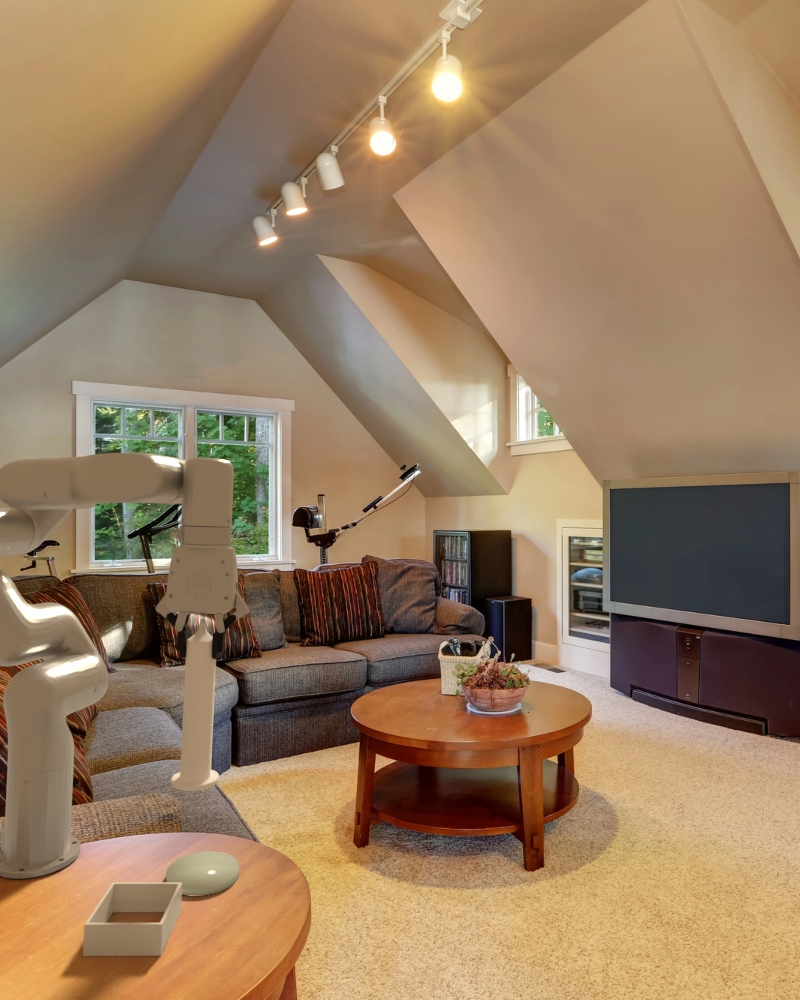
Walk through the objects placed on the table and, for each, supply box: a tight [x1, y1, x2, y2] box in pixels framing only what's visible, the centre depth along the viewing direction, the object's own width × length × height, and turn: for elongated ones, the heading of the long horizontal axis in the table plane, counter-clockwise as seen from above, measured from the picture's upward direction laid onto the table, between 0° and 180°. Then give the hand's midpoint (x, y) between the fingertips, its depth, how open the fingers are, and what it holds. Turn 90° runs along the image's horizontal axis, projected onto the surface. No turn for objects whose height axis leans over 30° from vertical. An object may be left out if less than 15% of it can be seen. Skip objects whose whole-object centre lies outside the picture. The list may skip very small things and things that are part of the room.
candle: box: [170, 618, 220, 792], centre depth 103 cm, size 7×7×25 cm
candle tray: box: [82, 881, 183, 957], centre depth 91 cm, size 10×10×4 cm
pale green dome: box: [165, 850, 240, 896], centre depth 105 cm, size 11×11×1 cm
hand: (200, 655), depth 103 cm, fingers closed on candle, 4 cm apart
